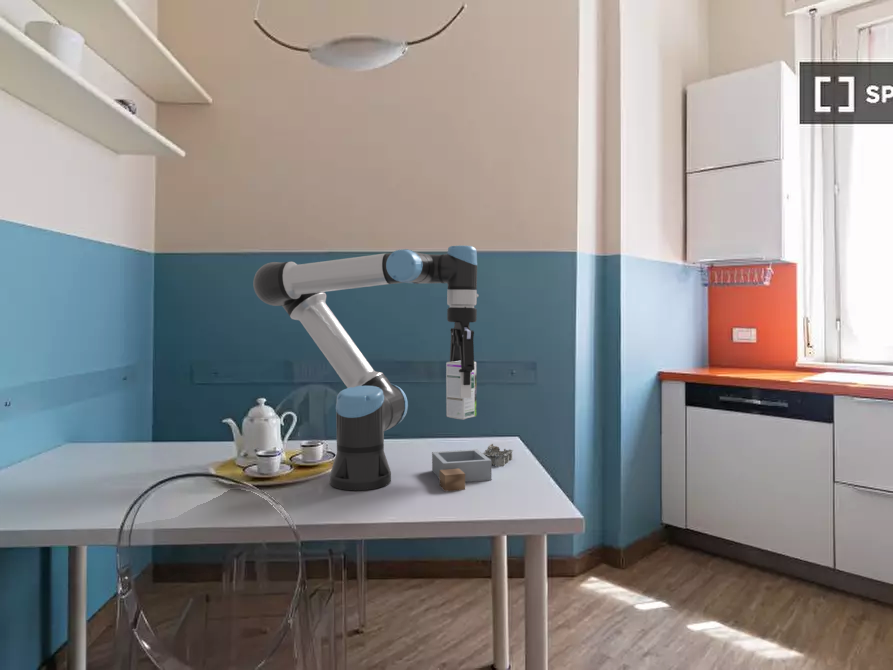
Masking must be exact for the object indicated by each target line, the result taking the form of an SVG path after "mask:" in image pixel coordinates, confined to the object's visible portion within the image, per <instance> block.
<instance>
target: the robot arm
mask: <svg viewBox="0 0 893 670" xmlns="http://www.w3.org/2000/svg"><path fill="white" fill-rule="evenodd" d="M477 252H478V251H477V249H476V247H474V246H472V245H451V246H449V247H448V249H447V252H446V253H442V254H433V253H432V254H429V253H427V254H426V253H421V252H417V251H414V250H411V249H406V248H405V249H396V250H395V251H392V252H389V253H388V252H387V253H378V254H372V255H371V254H370V255H363V256H355V257H348V258H347V257H346V258H340V259H333V260H332V259H331V260H326V261H317V262H308V263H302V264H301V263H296V262H294V261H285V262H279V261H277V262H276V261H271V262H268V263H265V264H263V265H262V266H261V267H260V268H258V269H257V271H256V272H255V275H254V277H253V283H252V284H253V290H254V293H255V295H256V296H257V298H258V299H260V301H262V302H263V303H265V304H267V305H269V306H273V307H276V306H277V307H282V308H283V309H284V310H285V311H286V313H287V314H288V316H289V317H290V318H291V320H295V321H299V322H300V323H301V325H302V326H303V328H304V329H305V330H306V332H307V333H308V334H309V336H310V337H311V338H312V340H313V342H314V343H315V345H316V346H317V348H319V350H320V351H321V352H322V354H323V356H324V357H325V358H326V359H327V361H328V363H329V364H330V365H331V367H332V368H333V369H334V371H335V372H336V375H338V377H339V378H340V380H341V381H342V382H343V383H344V385H345V386H346V388H344V389H342V390H340V391H339V393H337V396H336V402H335V412H336V413H335V415H336V420H335V421H336V428H335V429H336V454H335V458H334V460H333V464H332V467H331V470H330V474H329V485H330V486H332V487H333V488H335V489H339V490H344V491H369V490H374V489H380V488H383V487H386V486H389V484H391V482H392V472H391V467H390V466H389V462H388V460H387V459H388V458H387V456H386V453H385V441H384V440H385V435H384V434H385V431H387V430H391V429H394V428H395V427H396V426H398V425H399V424H400V423H401V422H403V420H404V418H405V417H406V415H407V413H408V408H409V401H408V398H407V395H406V393H405V392H404V390H403V389H402V388H401V387H399V386H398V385H396V384H393V383H391V382H390V380H389V379H388V377H387V376H386V375H385V374H384V373H383V372H382V371H381V372H380V371H376V370H375V369H374V368H373V366H372V365H371V364H370V362H369V361H368V360H367V358H366V357H365V356H364V354H363V353H362V352H361V350H360V349H359V347H358V346H357V345H356V343H355V342H354V340H353V339H352V337H351V336H350V335H349V333H348V332H347V330H345V328H344V327H343V325H342V324H341V322H340V321H339V320H338V318H337V317H336V315H335V314H334V312H333V311H332V310H331V309H330V307H329V306H328V305H327V303H326V302H327V294H326V292H334V291H341V290H349V289H350V290H351V289H360V288H367V287H375V286H385V285H393V284H404V283H406V284H413V285H421V284H447V290H446V291H447V293H446V294H447V295H446V297H447V299H446V300H447V301H446V304H447V306H449V307H448V308H447V309H446V311H447V313H446V314H447V315H446V320H447V322H448V323H454V324H453V326H454V327H452V328H450V347H449V348H450V351H449V362H453V361H459V360H460V361H461V369H460V370H459V372H460V398H471V372H472V370H474V361H475V353H474V347H475V346H474V345H475V344H474V338H475V337H474V336H475V331H474V330H471V328H470V323H476V322H477V317H478V316H477V312H478V311H477V308H476V307H475V306H476V305H477V302H478V301H477V298H479V293H477V292H478V291H477V290H478V288H477V287H478V285H477V284H478V283H477V282H478V253H477Z"/></svg>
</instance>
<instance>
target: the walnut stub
mask: <svg viewBox="0 0 893 670" xmlns="http://www.w3.org/2000/svg"><path fill="white" fill-rule="evenodd" d="M439 478H440V479H439ZM439 478H438V479H439V487H441V489H442V490H443V491H444V492H452V491H462V490H463V491H465V490H466V482H465V473H464V472H463V471H461V470H460V469H459V468H458V469H446V470H439Z"/></svg>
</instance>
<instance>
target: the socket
mask: <svg viewBox="0 0 893 670" xmlns="http://www.w3.org/2000/svg"><path fill="white" fill-rule="evenodd" d="M483 453H484V452H481V451H480V450H478V448H477V449H475V448H474V449H463V450H461V449H460V450H447V451H446V450H444V451H432V452H431V458H432V459H431V461H432V462H431V464H432V465H431V468H432V469H431V471H432V472H433V473H434V474H435V475H436V476H437V478H438V479H439V480H440V478H439V470H446V469H458V468H459V469H460V470H461V471H463V472H464V473H465V483H467V482H479V481H480V482H481V481H482V482H483V481H492V465H491V460H490V459H489V458H488V457H486V456H485V455H484V454H483Z"/></svg>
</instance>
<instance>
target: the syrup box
mask: <svg viewBox="0 0 893 670" xmlns="http://www.w3.org/2000/svg"><path fill="white" fill-rule="evenodd" d="M445 364H446V365H445V367H446V369H445V370H446V371H445V372H446V373H445V376H446V377H445V381H446V382H445V385H446V386H445V388H446V393H445V396H446V397H445V398H446V399H445V404H446V406H445V407H446V415H445V416H446V417H447V418H451V419H455V420H466V419H470V418H475V417H477V361H475V360H474V370H472V372H471V398H460V372H459V370H460V369H461V361H460V360H459V361H453V362H450V361H446V363H445Z"/></svg>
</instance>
